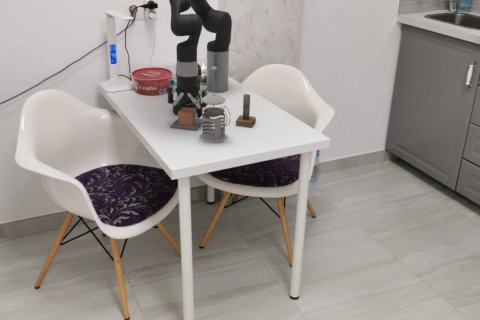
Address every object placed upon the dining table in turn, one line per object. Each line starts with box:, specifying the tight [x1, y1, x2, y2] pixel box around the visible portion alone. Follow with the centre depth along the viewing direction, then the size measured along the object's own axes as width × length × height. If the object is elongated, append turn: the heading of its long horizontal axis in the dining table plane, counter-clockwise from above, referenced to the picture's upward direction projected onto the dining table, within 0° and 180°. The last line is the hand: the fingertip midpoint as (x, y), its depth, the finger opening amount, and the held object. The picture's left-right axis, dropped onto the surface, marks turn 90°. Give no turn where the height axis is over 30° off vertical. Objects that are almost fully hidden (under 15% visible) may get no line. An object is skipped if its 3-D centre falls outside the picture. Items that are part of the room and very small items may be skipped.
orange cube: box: [177, 107, 197, 126], centre depth 192 cm, size 5×5×5 cm
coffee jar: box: [176, 63, 203, 114], centre depth 202 cm, size 10×8×19 cm
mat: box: [169, 117, 203, 132], centre depth 194 cm, size 10×10×1 cm
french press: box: [198, 66, 231, 144], centre depth 178 cm, size 10×12×25 cm
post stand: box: [235, 93, 257, 128], centre depth 194 cm, size 6×6×11 cm
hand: (187, 116), depth 193 cm, fingers open, 8 cm apart
